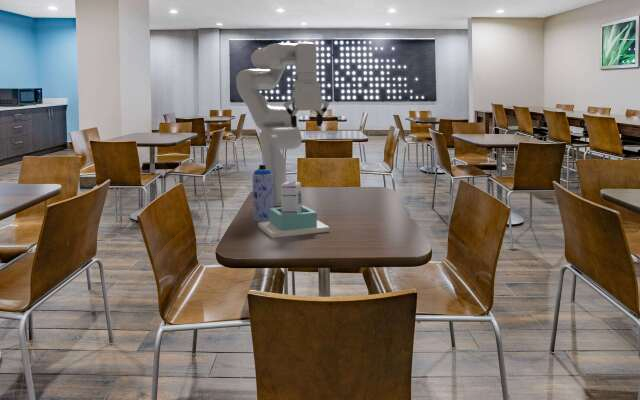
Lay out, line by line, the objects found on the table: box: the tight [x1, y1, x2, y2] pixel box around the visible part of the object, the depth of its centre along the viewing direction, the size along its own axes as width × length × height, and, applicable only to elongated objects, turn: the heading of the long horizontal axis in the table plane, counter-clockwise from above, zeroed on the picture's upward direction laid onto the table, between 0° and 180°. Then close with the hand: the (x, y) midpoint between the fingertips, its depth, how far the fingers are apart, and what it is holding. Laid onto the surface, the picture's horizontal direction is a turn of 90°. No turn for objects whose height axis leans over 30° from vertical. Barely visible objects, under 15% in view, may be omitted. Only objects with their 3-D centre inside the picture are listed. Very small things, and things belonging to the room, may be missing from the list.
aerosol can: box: [251, 164, 275, 222], centre depth 196 cm, size 8×8×20 cm
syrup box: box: [281, 180, 302, 215], centre depth 182 cm, size 6×6×14 cm
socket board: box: [257, 204, 330, 239], centre depth 183 cm, size 16×20×6 cm
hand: (306, 126), depth 197 cm, fingers open, 9 cm apart
